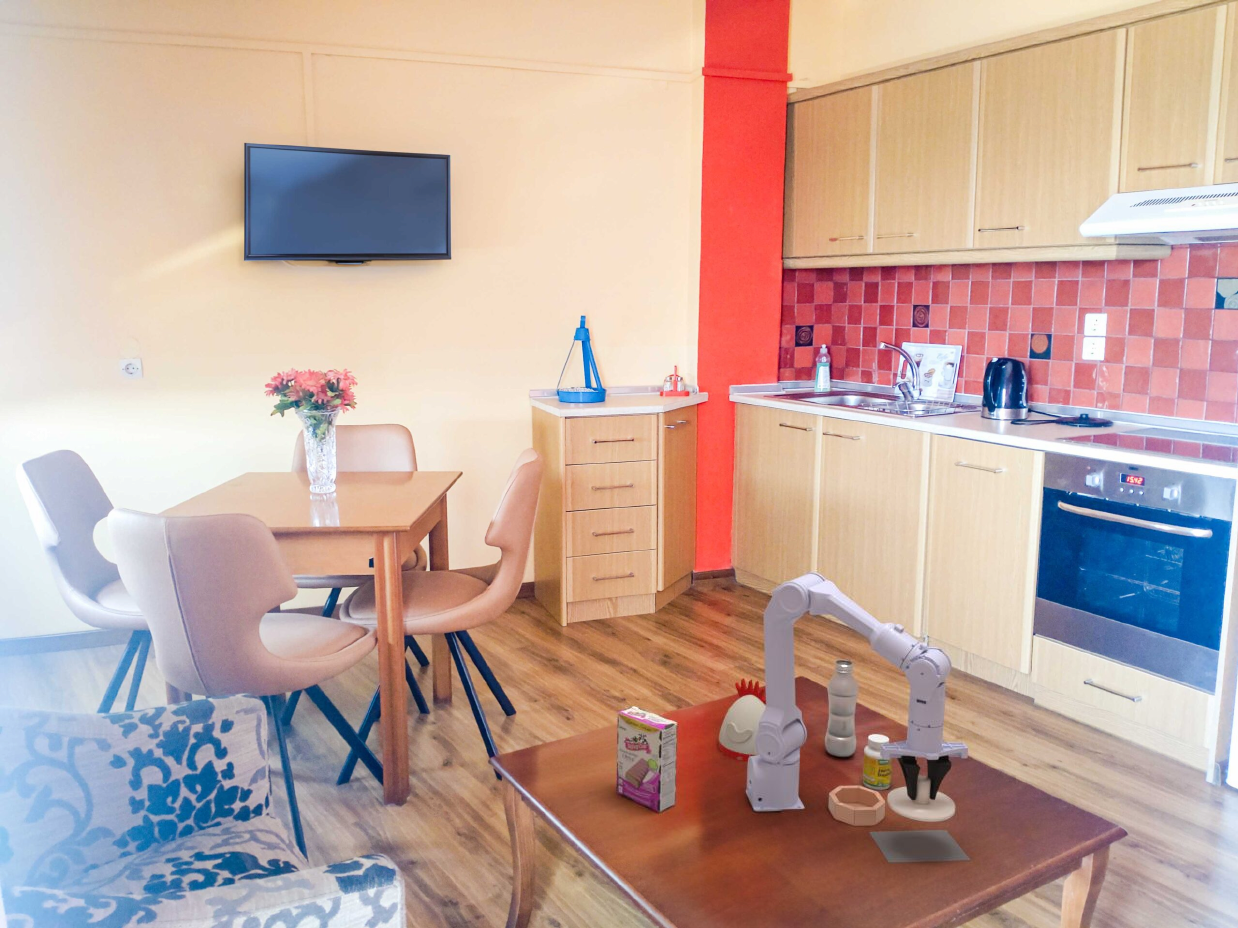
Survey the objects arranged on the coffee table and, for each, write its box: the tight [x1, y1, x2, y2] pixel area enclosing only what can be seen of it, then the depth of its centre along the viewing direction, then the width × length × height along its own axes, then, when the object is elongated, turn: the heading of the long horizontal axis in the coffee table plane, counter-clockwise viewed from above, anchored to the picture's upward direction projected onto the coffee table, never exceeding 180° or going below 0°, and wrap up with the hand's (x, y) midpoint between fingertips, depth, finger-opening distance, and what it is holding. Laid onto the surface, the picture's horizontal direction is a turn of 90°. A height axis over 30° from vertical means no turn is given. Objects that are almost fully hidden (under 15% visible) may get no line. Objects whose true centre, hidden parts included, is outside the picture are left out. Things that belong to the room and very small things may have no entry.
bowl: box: [828, 785, 886, 827], centre depth 178 cm, size 9×9×4 cm
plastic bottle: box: [824, 659, 860, 758], centre depth 203 cm, size 6×7×20 cm
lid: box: [887, 774, 956, 823], centre depth 165 cm, size 11×11×5 cm
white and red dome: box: [718, 677, 766, 763], centre depth 206 cm, size 14×14×15 cm
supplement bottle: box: [862, 733, 893, 791], centre depth 190 cm, size 5×5×10 cm
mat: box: [868, 829, 971, 864], centre depth 167 cm, size 14×10×1 cm
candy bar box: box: [616, 705, 678, 813], centre depth 182 cm, size 11×5×16 cm, turn 47°
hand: (921, 797), depth 166 cm, fingers closed on lid, 3 cm apart
